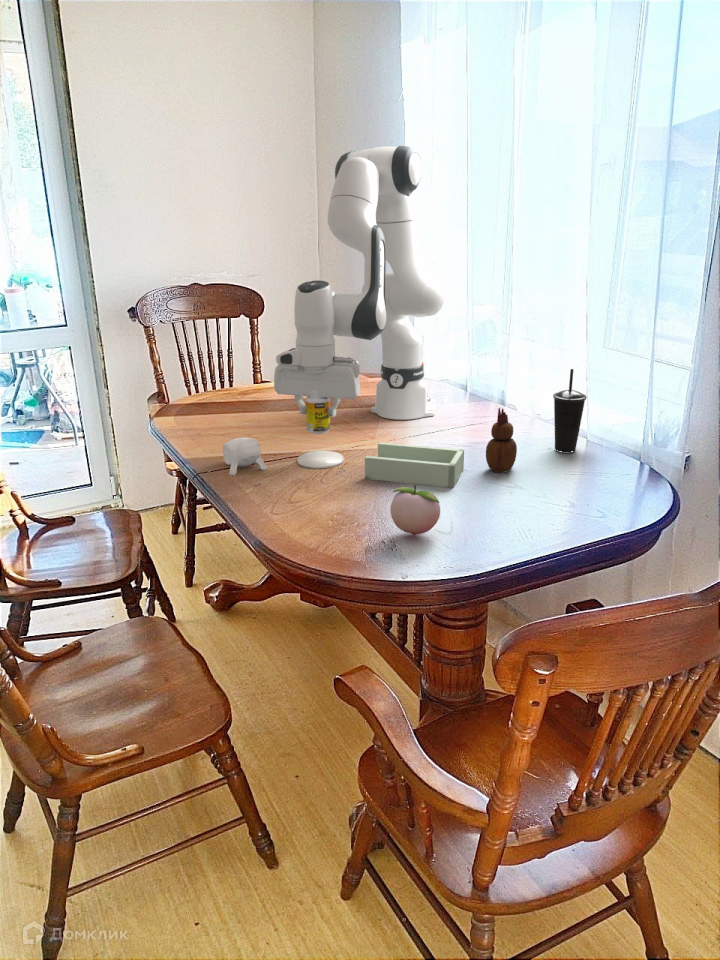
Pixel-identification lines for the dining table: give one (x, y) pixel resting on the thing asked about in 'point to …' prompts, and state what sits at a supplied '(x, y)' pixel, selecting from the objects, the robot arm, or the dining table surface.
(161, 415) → the dining table surface
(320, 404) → the supplement bottle
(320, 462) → the white round disc
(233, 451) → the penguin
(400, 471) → the green rectangular tray
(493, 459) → the wooden figurine
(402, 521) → the decorative fruit
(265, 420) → the dining table surface
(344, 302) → the robot arm
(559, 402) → the drinking cup
